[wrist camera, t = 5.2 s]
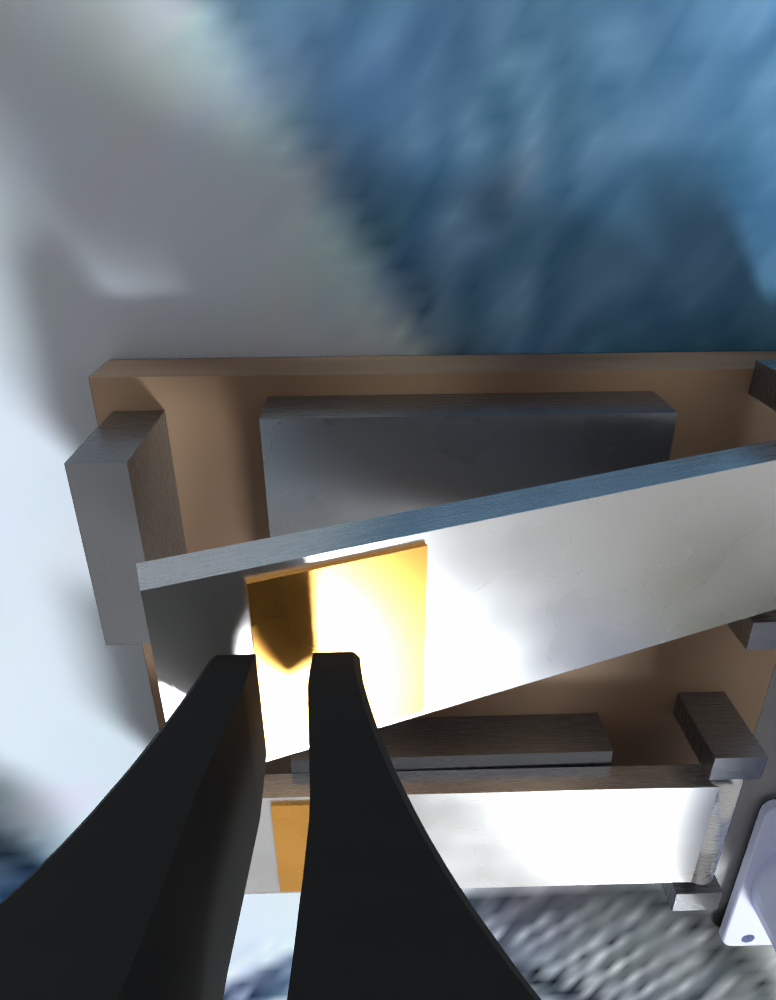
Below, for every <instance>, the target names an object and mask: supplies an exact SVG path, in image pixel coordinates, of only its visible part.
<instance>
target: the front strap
mask: <svg viewBox="0 0 776 1000" xmlns="http://www.w3.org/2000/svg"><path fill="white" fill-rule="evenodd" d="M136 566H137V573H138V579H139V585H140V591H141V597H142V602H143V607H144V612H145V617H146V622H147V627H148V633H149V638H150V643H151V648H152V653H153V658H154V663H155V668H156V674H157V679H158V684H159V689H160V694H161V699H162V704H163V709H164V715H165V720H166V721H167V720H168V719H169V717H170V716H171V715H172V713H173V712H174V711H175V709H176V708H177V706H178V705H179V704H180V702H181V701H182V700H183V698H184V697H185V695H186V694H187V693H188V691H189V690H190V688H191V687H192V685H193V684H194V682H195V681H196V680H197V678H198V677H199V675H200V674H201V672H202V671H203V669H204V668H205V666H206V665H207V663H208V662H209V661H210V660H211V659H212V658H213V657H214V656H215V655H233V654H256V661H257V670H258V679H259V688H260V697H261V706H262V715H263V724H264V733H265V741H266V750H267V756H266V762H267V761H270V760H273V759H277V758H280V757H283V756H287V755H290V754H293V753H297V752H300V751H303V750H307V749H309V730H308V678H309V672H310V666H311V661H312V656H313V653H314V652H354V653H356V654H357V655H358V656H359V657H360V658H361V670H362V676H363V681H364V685H365V689H366V693H367V697H368V700H369V703H370V706H371V709H372V713H373V716H374V718H375V721H376V724H377V727H378V728H380V727H384V726H387V725H390V724H394V723H397V722H400V721H404V720H407V719H410V718H414V717H417V716H420V715H424V714H427V713H430V712H434V711H437V710H440V709H444V708H447V707H450V706H454V705H457V704H460V703H464V702H467V701H471V700H474V699H477V698H481V697H484V696H487V695H491V694H494V693H497V692H501V691H504V690H507V689H511V688H514V687H517V686H521V685H524V684H527V683H531V682H534V681H537V680H541V679H544V678H547V677H551V676H554V675H557V674H561V673H564V672H567V671H571V670H574V669H577V668H581V667H584V666H587V665H591V664H594V663H597V662H601V661H604V660H608V659H611V658H614V657H618V656H621V655H624V654H628V653H631V652H634V651H638V650H641V649H644V648H648V647H651V646H654V645H658V644H661V643H664V642H668V641H671V640H674V639H678V638H681V637H684V636H688V635H691V634H694V633H698V632H701V631H704V630H708V629H711V628H714V627H718V626H721V625H724V624H728V623H731V622H734V621H738V620H741V619H745V618H748V617H751V616H755V615H758V614H761V613H765V612H768V611H771V610H775V609H776V440H773V441H768V442H762V443H757V444H752V445H747V446H742V447H737V448H731V449H726V450H721V451H716V452H711V453H706V454H700V455H695V456H690V457H685V458H680V459H674V460H669V461H664V462H659V463H654V464H649V465H643V466H638V467H633V468H628V469H623V470H617V471H612V472H607V473H602V474H597V475H592V476H586V477H581V478H576V479H571V480H566V481H561V482H555V483H550V484H545V485H540V486H535V487H529V488H524V489H519V490H514V491H509V492H504V493H498V494H493V495H488V496H483V497H478V498H472V499H467V500H462V501H457V502H452V503H447V504H441V505H436V506H431V507H426V508H421V509H416V510H410V511H405V512H400V513H395V514H390V515H384V516H379V517H374V518H369V519H364V520H359V521H353V522H348V523H343V524H338V525H333V526H327V527H322V528H317V529H312V530H307V531H302V532H296V533H291V534H286V535H281V536H276V537H271V538H265V539H260V540H255V541H250V542H245V543H239V544H234V545H229V546H224V547H219V548H214V549H208V550H203V551H198V552H193V553H188V554H182V555H177V556H172V557H167V558H162V559H157V560H151V561H146V562H141V563H136Z"/></svg>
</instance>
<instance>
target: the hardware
mask: <svg viewBox="0 0 776 1000" xmlns="http://www.w3.org/2000/svg"><path fill="white" fill-rule="evenodd" d="M748 394H750V395H751V396H753V397H755V398H756V399H758V400H759V401H761V402H762V403H764V404H765V405H767V406H768V407H770V408H771V409H773V410H774V411H776V360H756V362H755V367H754V371H753V375H752V379H751V384H750V388H749V392H748ZM677 416H678V412H677V411H676V410H675V409H673V408H672V407H671V406H670V405H669V404H668V403H666V402H665V401H664V400H663V399H662V398H661V397H659V396H658V395H657V394H656V393H655V392H654V391H598V392H529V393H461V394H392V395H323V396H268V397H267V400H266V402H265V405H264V408H263V410H262V413H261V416H260V419H259V421H260V432H261V443H262V454H263V464H264V475H265V486H266V497H267V508H268V519H269V530H270V538H271V537H276V536H281V535H286V534H291V533H296V532H302V531H307V530H312V529H317V528H322V527H327V526H333V525H338V524H343V523H348V522H353V521H359V520H364V519H369V518H374V517H379V516H384V515H390V514H395V513H400V512H405V511H410V510H416V509H421V508H426V507H431V506H436V505H441V504H447V503H452V502H457V501H462V500H467V499H472V498H478V497H483V496H488V495H493V494H498V493H504V492H509V491H514V490H519V489H524V488H529V487H535V486H540V485H545V484H550V483H555V482H561V481H566V480H571V479H576V478H581V477H586V476H592V475H597V474H602V473H607V472H612V471H617V470H623V469H628V468H633V467H638V466H643V465H649V464H654V463H659V462H664V461H669V458H670V452H671V447H672V442H673V437H674V431H675V426H676V421H677ZM64 465H65V469H66V473H67V478H68V482H69V486H70V491H71V495H72V499H73V504H74V508H75V512H76V517H77V521H78V525H79V530H80V534H81V538H82V543H83V547H84V551H85V556H86V560H87V564H88V569H89V573H90V577H91V582H92V586H93V590H94V595H95V599H96V603H97V608H98V612H99V616H100V621H101V625H102V629H103V634H104V638H105V642H106V645H122V644H151V643H150V638H149V633H148V627H147V622H146V617H145V612H144V607H143V602H142V597H141V591H140V585H139V579H138V573H137V566H136V563H141V562H146V561H151V560H157V559H162V558H167V557H172V556H177V555H182V554H187V550H186V543H185V537H184V530H183V524H182V517H181V511H180V504H179V498H178V491H177V485H176V478H175V472H174V465H173V459H172V453H171V446H170V440H169V433H168V427H167V420H166V414H165V410H145V411H112V412H111V413H110V414H109V416H108V417H107V418H106V419H105V420H104V421H103V422H102V423H101V424H100V425H99V426H98V428H97V429H96V430H95V431H94V432H93V433H92V434H91V435H90V436H89V437H88V438H87V439H86V441H85V442H84V443H83V444H82V445H81V446H80V447H79V448H78V449H77V450H76V451H75V452H74V454H73V455H72V456H71V457H70V458H69V459H68V460H67V461H66V462H65V463H64ZM727 625H728V626H729V628H730V629H731V630H732V632H733V633H734V634H735V636H736V637H737V638H738V640H739V641H740V642H741V644H742V645H743V646H744V648H745V649H746V650H757V649H776V609H775V610H771V611H768V612H765V613H761V614H758V615H755V616H751V617H748V618H745V619H741V620H738V621H734V622H731V623H728V624H727ZM673 714H674V716H675V718H676V720H677V722H678V724H679V725H680V727H681V729H682V731H683V733H684V735H685V736H686V738H687V740H688V742H689V744H690V746H691V747H692V749H693V751H694V753H695V755H696V757H697V758H698V760H699V762H700V764H701V766H702V768H703V769H704V771H705V773H706V775H707V777H708V779H709V780H728V779H761V776H762V773H763V770H764V767H765V763H766V760H767V755H766V754H765V752H764V751H763V749H762V748H761V746H760V745H759V743H758V742H757V740H756V738H755V737H754V735H753V734H752V732H751V731H750V729H749V728H748V726H747V725H746V723H745V722H744V720H743V719H742V717H741V716H740V714H739V713H738V711H737V710H736V708H735V707H734V705H733V704H732V702H731V701H730V699H729V698H728V696H727V695H726V693H725V691H717V692H680V693H677V697H676V702H675V706H674V710H673ZM378 729H379V732H380V734H381V737H382V739H383V742H384V744H385V747H386V749H387V752H388V754H389V756H390V759H391V761H392V764H393V766H394V768H395V770H396V771H431V770H473V769H516V768H559V767H601V766H610V765H611V760H612V755H613V749H612V747H611V745H610V742H609V740H608V737H607V735H606V732H605V730H604V728H603V725H602V723H601V720H600V718H599V715H598V713H564V714H527V715H491V716H454V717H418V718H410V719H407V720H404V721H400V722H397V723H394V724H390V725H387V726H384V727H380V728H378ZM291 770H292V774H303V773H309V749H307V750H303V751H300V752H297V753H293V754H291ZM661 884H662V887H663V889H664V892H665V894H666V897H667V899H668V902H669V904H670V907H671V909H672V911H687V910H716V909H718V907H719V904H720V900H721V897H722V894H723V891H722V889H721V887H720V885H719V883H718V881H717V879H716V877H715V875H714V876H713V879H712V881H711V882H710V883H708V884H705V885H699V884H695V883H692V882H671V883H661Z"/></svg>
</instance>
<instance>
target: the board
mask: <svg viewBox="0 0 776 1000" xmlns="http://www.w3.org/2000/svg"><path fill="white" fill-rule="evenodd" d="M756 360H776V351H725V352H648V353H571V354H495V355H418V356H341V357H264V358H187V359H111V360H108V361H107V362H106V363H105V364H104V365H103V366H102V367H100V368H99V369H98V370H97V371H96V372H95V373H93V374H92V375H91V376H90V377H89V383H90V387H91V392H92V397H93V402H94V407H95V412H96V417H97V422H98V426H99V425H100V424H101V423H102V422H103V421H104V420H105V419H106V418H107V417H108V416H109V414H110V413H111V412H112V411H145V410H165V414H166V420H167V427H168V433H169V440H170V446H171V453H172V459H173V465H174V472H175V478H176V485H177V491H178V498H179V504H180V511H181V517H182V524H183V530H184V537H185V543H186V550H187V554H188V553H193V552H198V551H203V550H208V549H214V548H219V547H224V546H229V545H234V544H239V543H245V542H250V541H255V540H260V539H265V538H270V530H269V519H268V508H267V497H266V486H265V475H264V464H263V454H262V443H261V432H260V421H259V419H260V416H261V413H262V410H263V408H264V405H265V402H266V400H267V397H268V396H323V395H392V394H461V393H529V392H598V391H654V392H655V393H656V394H657V395H658V396H659V397H661V398H662V399H663V400H664V401H665V402H666V403H668V404H669V405H670V406H671V407H672V408H673V409H675V410H676V411H677V412H678V416H677V421H676V426H675V431H674V437H673V442H672V447H671V452H670V458H669V460H674V459H680V458H685V457H690V456H695V455H700V454H706V453H711V452H716V451H721V450H726V449H731V448H737V447H742V446H747V445H752V444H757V443H762V442H768V441H773V440H776V411H774V410H773V409H771V408H770V407H768V406H767V405H765V404H764V403H762V402H761V401H759V400H758V399H756V398H755V397H753V396H751V395H750V394H748V392H749V388H750V384H751V379H752V375H753V371H754V367H755V362H756ZM142 645H143V650H144V655H145V660H146V665H147V670H148V675H149V680H150V685H151V690H152V695H153V700H154V705H155V710H156V715H157V720H158V725H159V730H160V729H161V728H162V727H163V725H164V724H165V723H166V720H165V715H164V709H163V704H162V699H161V694H160V689H159V684H158V679H157V674H156V668H155V663H154V658H153V653H152V648H151V644H142ZM775 665H776V649H757V650H746V649H745V648H744V646H743V645H742V644H741V642H740V641H739V640H738V638H737V637H736V636H735V634H734V633H733V632H732V630H731V629H730V628H729V626H728V625H727V624H724V625H721V626H718V627H714V628H711V629H708V630H704V631H701V632H698V633H694V634H691V635H688V636H684V637H681V638H678V639H674V640H671V641H668V642H664V643H661V644H658V645H654V646H651V647H648V648H644V649H641V650H638V651H634V652H631V653H628V654H624V655H621V656H618V657H614V658H611V659H608V660H604V661H601V662H597V663H594V664H591V665H587V666H584V667H581V668H577V669H574V670H571V671H567V672H564V673H561V674H557V675H554V676H551V677H547V678H544V679H541V680H537V681H534V682H531V683H527V684H524V685H521V686H517V687H514V688H511V689H507V690H504V691H501V692H497V693H494V694H491V695H487V696H484V697H481V698H477V699H474V700H471V701H467V702H464V703H460V704H457V705H454V706H450V707H447V708H444V709H440V710H437V711H434V712H430V713H427V714H424V715H420V716H417V717H414V718H418V717H454V716H491V715H527V714H564V713H598V715H599V718H600V720H601V723H602V725H603V728H604V730H605V732H606V735H607V737H608V740H609V742H610V745H611V747H612V749H613V755H612V760H611V765H610V766H644V765H686V764H700V762H699V760H698V758H697V757H696V755H695V753H694V751H693V749H692V747H691V746H690V744H689V742H688V740H687V738H686V736H685V735H684V733H683V731H682V729H681V727H680V725H679V724H678V722H677V720H676V718H675V716H674V714H673V710H674V706H675V702H676V697H677V693H680V692H717V691H725V693H726V695H727V696H728V698H729V699H730V701H731V702H732V704H733V705H734V707H735V708H736V710H737V711H738V713H739V714H740V716H741V717H742V719H743V720H744V722H745V723H746V725H747V726H748V728H749V729H750V731H751V732H752V734H753V735H754V733H755V729H756V726H757V723H758V720H759V716H760V713H761V710H762V707H763V704H764V700H765V697H766V694H767V691H768V687H769V684H770V681H771V678H772V675H773V671H774V668H775ZM265 774H292V770H291V754H290V755H287V756H283V757H280V758H277V759H273V760H270V761H267V762H266V766H265Z"/></svg>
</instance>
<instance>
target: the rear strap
mask: <svg viewBox="0 0 776 1000" xmlns="http://www.w3.org/2000/svg"><path fill="white" fill-rule="evenodd" d="M396 772H397V775H398V777H399V779H400V781H401V783H402V785H403V787H404V789H405V791H406V793H407V795H408V797H409V799H410V801H411V803H412V805H413V807H414V809H415V811H416V813H417V815H418V817H419V819H420V821H421V823H422V824H423V826H424V828H425V830H426V832H427V833H428V835H429V837H430V839H431V841H432V842H433V844H434V846H435V847H436V849H437V851H438V852H439V854H440V856H441V857H442V859H443V861H444V863H445V864H446V866H447V868H448V869H449V871H450V872H451V874H452V875H453V877H454V879H455V880H456V882H457V883H458V885H459V886H460V888H486V887H523V886H560V885H597V884H634V883H671V882H692V883H695V884H699V885H705V884H708V883H710V882H711V881H712V879H713V876H714V873H715V870H716V867H717V864H718V861H719V857H720V854H721V851H722V848H723V845H724V841H725V838H726V835H727V832H728V829H729V825H730V822H731V819H732V816H733V813H734V810H735V806H736V803H737V800H738V797H739V794H740V790H741V787H742V784H743V779H728V780H709V779H708V777H707V775H706V773H705V771H704V769H703V768H702V766H701V764H686V765H644V766H601V767H559V768H516V769H473V770H431V771H396ZM309 806H310V773H303V774H265V777H264V787H263V797H262V806H261V815H260V821H259V826H258V831H257V836H256V841H255V846H254V850H253V855H252V860H251V865H250V869H249V874H248V879H247V883H246V888H245V893H244V894H265V893H301V888H302V880H303V871H304V861H305V852H306V843H307V834H308V825H309Z"/></svg>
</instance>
